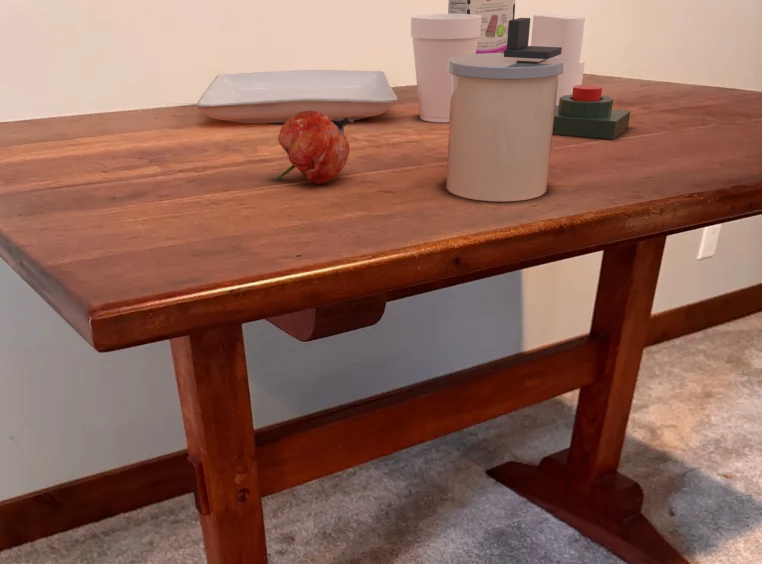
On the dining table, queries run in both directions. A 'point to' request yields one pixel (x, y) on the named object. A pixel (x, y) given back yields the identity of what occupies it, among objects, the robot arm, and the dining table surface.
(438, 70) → the foam cup
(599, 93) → the button
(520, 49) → the slider
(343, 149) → the pomegranate
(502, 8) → the candy bar box
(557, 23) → the white tapered box
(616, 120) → the box
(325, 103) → the square plate
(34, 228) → the dining table surface
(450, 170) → the travel mug
